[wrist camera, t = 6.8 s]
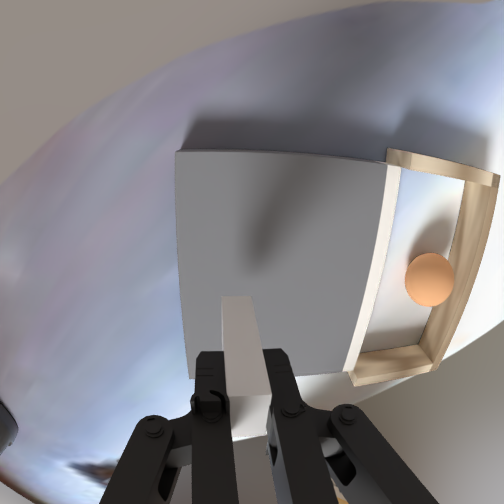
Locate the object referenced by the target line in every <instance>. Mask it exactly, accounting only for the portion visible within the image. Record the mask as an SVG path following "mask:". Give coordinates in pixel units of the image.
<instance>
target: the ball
mask: <svg viewBox="0 0 504 504" xmlns="http://www.w3.org/2000/svg"><path fill="white" fill-rule="evenodd" d="M405 286H406V290H407V292H408V294H409V296H410V297H411V299H412V300H413V301H415V302H416V303H418V304H419V305H422V306H427V307H431V306H436V305H439V304H441V303H442V302H444V301H445V300H446V299H447V298H448V297H449V295H450V294H451V292H452V289H453V286H454V272H453V269H452V266H451V265H450V263H449V262H448V261H447V260H446V259H445V258H444V257H443V256H441V255H439V254H436V253H425V254H421V255H419V256H418V257H416V258H415V259H414V260H413V261H412V262H411V263H410V265H409V266H408V268H407V271H406V275H405Z"/></svg>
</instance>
